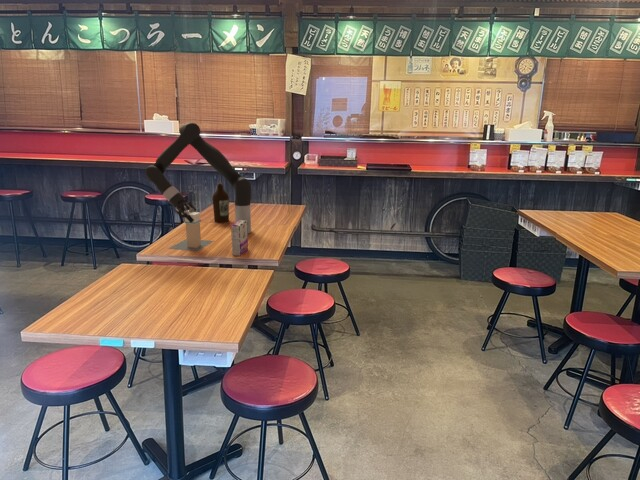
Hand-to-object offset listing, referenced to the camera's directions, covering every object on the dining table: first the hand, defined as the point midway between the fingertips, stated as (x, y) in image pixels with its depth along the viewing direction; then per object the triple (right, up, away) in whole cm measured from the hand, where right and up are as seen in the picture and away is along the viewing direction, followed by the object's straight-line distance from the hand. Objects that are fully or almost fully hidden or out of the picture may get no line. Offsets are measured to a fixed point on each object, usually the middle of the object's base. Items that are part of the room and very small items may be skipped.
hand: (195, 220), depth 259 cm
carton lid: (-2, -1, +1) cm, 2 cm away
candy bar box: (+24, -18, -2) cm, 30 cm away
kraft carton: (-2, -14, +4) cm, 15 cm away
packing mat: (-4, -14, +7) cm, 16 cm away
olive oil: (+1, +2, +64) cm, 64 cm away
